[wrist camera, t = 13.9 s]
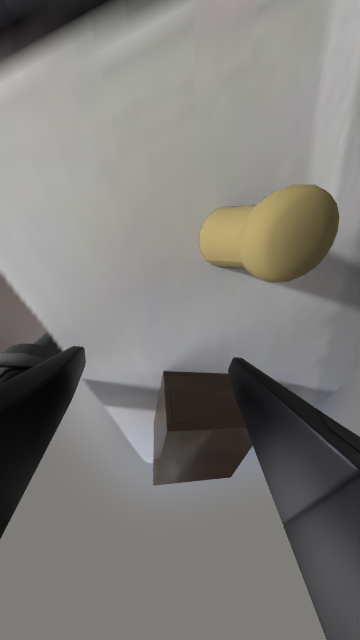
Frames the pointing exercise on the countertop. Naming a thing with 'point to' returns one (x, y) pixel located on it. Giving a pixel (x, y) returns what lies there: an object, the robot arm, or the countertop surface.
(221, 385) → the cabinet
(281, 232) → the cork
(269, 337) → the countertop surface
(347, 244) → the countertop surface
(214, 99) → the countertop surface
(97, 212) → the countertop surface
